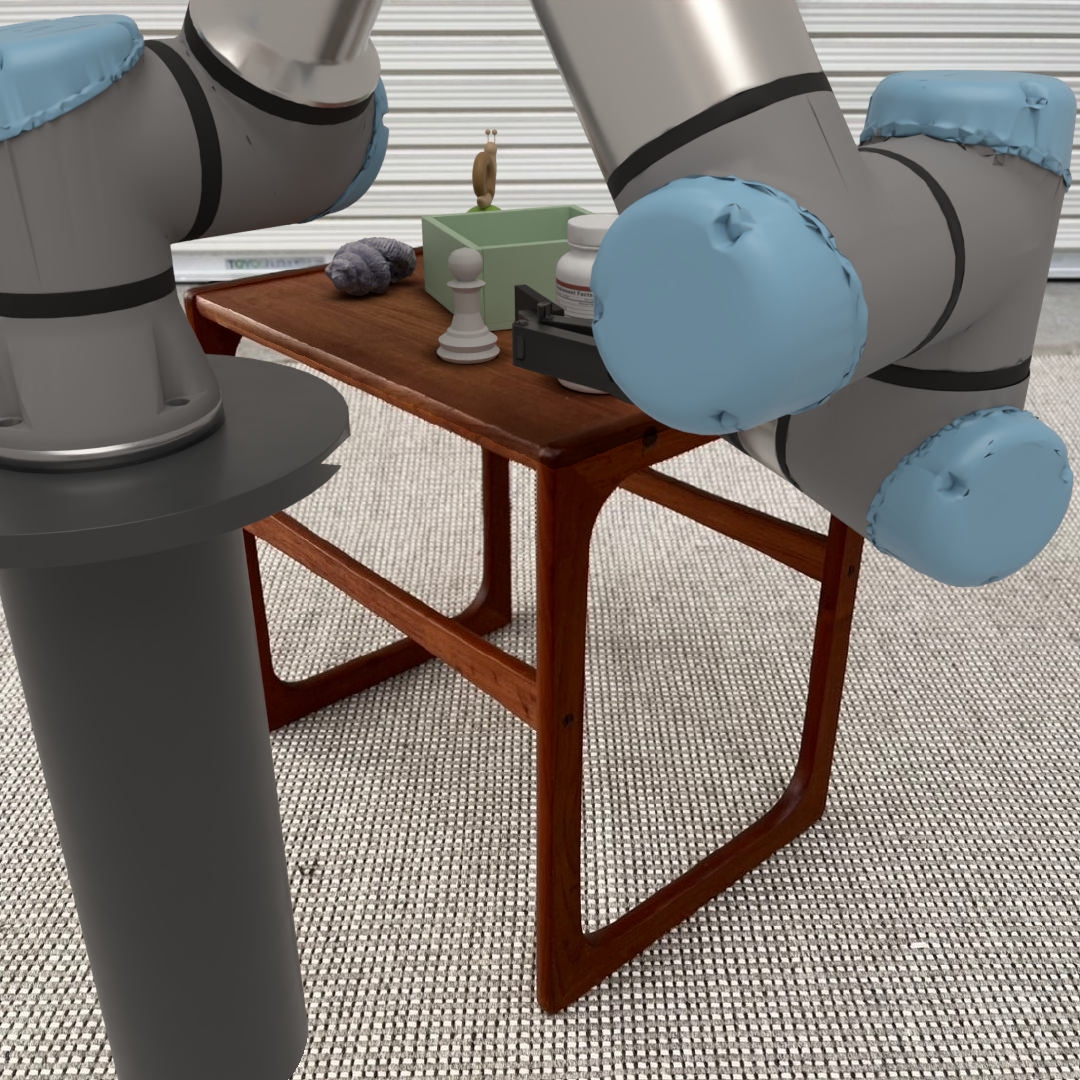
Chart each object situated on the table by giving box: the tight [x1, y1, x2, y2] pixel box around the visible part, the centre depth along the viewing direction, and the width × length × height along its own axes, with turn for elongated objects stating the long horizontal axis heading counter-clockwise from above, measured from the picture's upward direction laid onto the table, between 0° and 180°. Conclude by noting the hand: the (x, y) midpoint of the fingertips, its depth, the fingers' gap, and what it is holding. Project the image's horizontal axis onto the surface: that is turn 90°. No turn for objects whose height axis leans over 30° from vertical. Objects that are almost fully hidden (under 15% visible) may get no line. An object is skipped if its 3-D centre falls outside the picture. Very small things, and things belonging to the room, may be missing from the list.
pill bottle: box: [556, 213, 619, 395], centre depth 78 cm, size 6×6×11 cm
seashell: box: [324, 236, 418, 297], centre depth 102 cm, size 5×5×10 cm
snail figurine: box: [465, 128, 502, 213], centre depth 112 cm, size 5×6×12 cm
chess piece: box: [436, 247, 501, 365], centre depth 84 cm, size 5×5×8 cm
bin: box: [420, 204, 596, 332], centre depth 98 cm, size 15×15×7 cm
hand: (617, 295), depth 75 cm, fingers open, 13 cm apart
